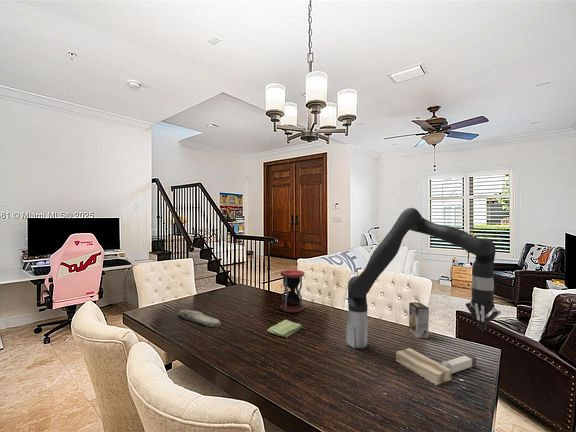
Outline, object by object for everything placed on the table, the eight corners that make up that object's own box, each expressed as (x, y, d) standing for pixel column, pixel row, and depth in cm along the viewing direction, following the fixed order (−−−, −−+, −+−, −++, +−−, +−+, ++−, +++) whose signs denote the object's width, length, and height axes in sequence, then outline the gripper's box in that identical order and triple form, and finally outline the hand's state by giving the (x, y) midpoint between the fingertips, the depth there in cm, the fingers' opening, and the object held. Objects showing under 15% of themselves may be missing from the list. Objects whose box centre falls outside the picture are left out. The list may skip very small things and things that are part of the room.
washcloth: (265, 333, 155) (265, 327, 155) (285, 323, 169) (285, 318, 169) (284, 339, 147) (284, 333, 147) (303, 329, 161) (303, 323, 161)
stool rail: (436, 385, 108) (436, 374, 108) (395, 360, 126) (395, 351, 126) (451, 380, 111) (451, 369, 111) (409, 356, 129) (409, 348, 129)
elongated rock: (211, 332, 158) (224, 328, 166) (212, 323, 158) (225, 318, 166) (173, 316, 178) (187, 312, 186) (174, 307, 178) (188, 304, 186)
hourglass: (289, 303, 207) (289, 268, 206) (308, 307, 197) (308, 271, 197) (275, 309, 193) (275, 272, 193) (295, 314, 184) (295, 275, 184)
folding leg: (447, 375, 114) (447, 366, 114) (439, 371, 117) (439, 362, 117) (476, 366, 121) (476, 357, 121) (467, 362, 125) (467, 353, 125)
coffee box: (408, 331, 159) (408, 302, 158) (419, 330, 159) (419, 302, 159) (417, 338, 149) (417, 307, 149) (428, 337, 150) (429, 307, 150)
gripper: (460, 284, 121) (460, 325, 121) (494, 292, 109) (494, 337, 109) (471, 283, 124) (471, 322, 124) (505, 290, 112) (505, 334, 112)
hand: (482, 329), depth 116 cm, fingers closed
